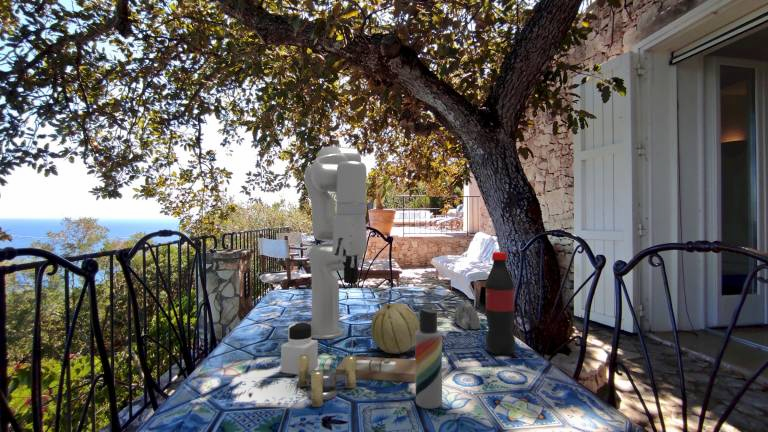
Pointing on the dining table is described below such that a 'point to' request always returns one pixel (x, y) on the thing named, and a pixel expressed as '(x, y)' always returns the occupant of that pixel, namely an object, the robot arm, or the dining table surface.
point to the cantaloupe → (394, 328)
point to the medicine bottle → (298, 348)
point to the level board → (388, 376)
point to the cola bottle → (500, 307)
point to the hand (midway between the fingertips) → (350, 282)
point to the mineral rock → (467, 316)
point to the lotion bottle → (428, 361)
